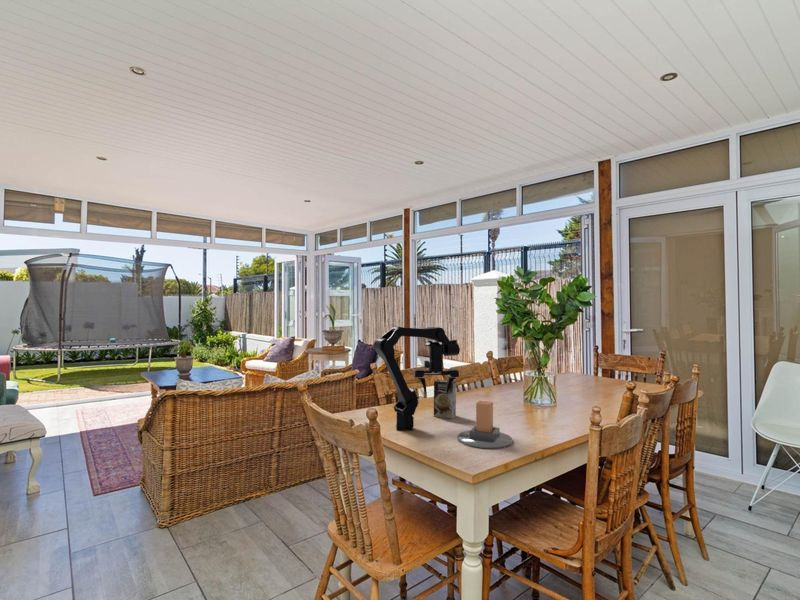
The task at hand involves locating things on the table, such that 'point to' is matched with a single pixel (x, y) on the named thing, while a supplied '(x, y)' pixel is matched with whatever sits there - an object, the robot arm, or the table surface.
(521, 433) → the table surface
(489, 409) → the tan wooden block
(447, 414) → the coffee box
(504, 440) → the grey disc base
